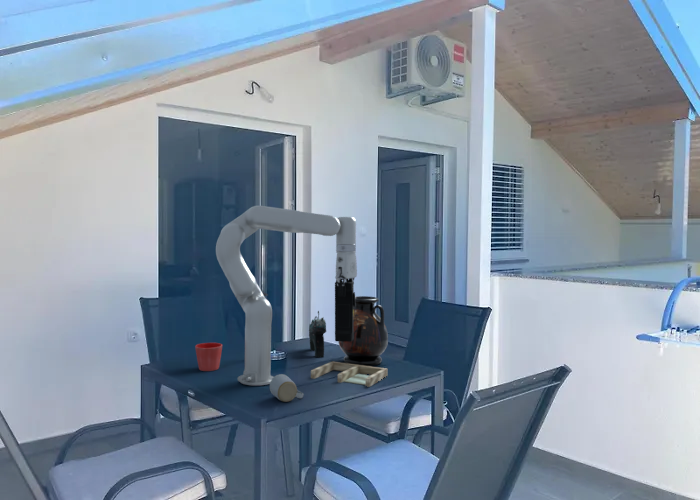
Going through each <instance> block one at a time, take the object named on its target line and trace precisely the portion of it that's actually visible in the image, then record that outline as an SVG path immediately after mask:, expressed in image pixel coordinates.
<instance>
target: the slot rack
mask: <svg viewBox="0 0 700 500" xmlns="http://www.w3.org/2000/svg"><path fill="white" fill-rule="evenodd" d="M332 371H338V372H339V371H340V372H339V373H338V374H337V383H349V384H355V385H361V386H362V385H363V386H365V387H366V386H367V388H370V387H372V386H374V385H375V384H377V383H378V381H379V382H380V381H382V380H384V379H385V378H387V377H388V371H389V370H388V368H386V367H385V368H384V367H378V366H364V365H356V364H348V363H346V362H339V361H329V362H328V363H325V364H323V365H320V366H318V367H315V368H313V369H311V370H310V379H314V380H315V379H317V378H320V377H322V376H323V375H325V374H328V373H330V372H332ZM367 374H369V375H367ZM386 376H387V377H386ZM384 377H385V378H384ZM383 378H384V379H383ZM381 379H382V380H381Z"/></svg>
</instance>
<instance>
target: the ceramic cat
mask: <svg viewBox="0 0 700 500" xmlns="http://www.w3.org/2000/svg"><path fill="white" fill-rule="evenodd" d="M317 314H318V316H317V315H316V316H314V318H313V319H312V320H311V323H309V327H308V337H309V349H310V351H314V357H315V358H324V357H325V354H324V353H325V335H324V334H325V333H327V323H326V319H324V316H323V317H321V318H320V310H318V311H317Z"/></svg>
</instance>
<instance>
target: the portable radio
mask: <svg viewBox="0 0 700 500" xmlns="http://www.w3.org/2000/svg"><path fill="white" fill-rule="evenodd" d="M354 284H355V282H354V283H353V282H346V281H345V286H346V296H345V297H340V296H338V295H337V294H338V286H337V280H336V279H335V282H334V341H335V342H338V341H343V342H351V341H353V339H354V306H356V302H355V297H356V292H355V290H354Z"/></svg>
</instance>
